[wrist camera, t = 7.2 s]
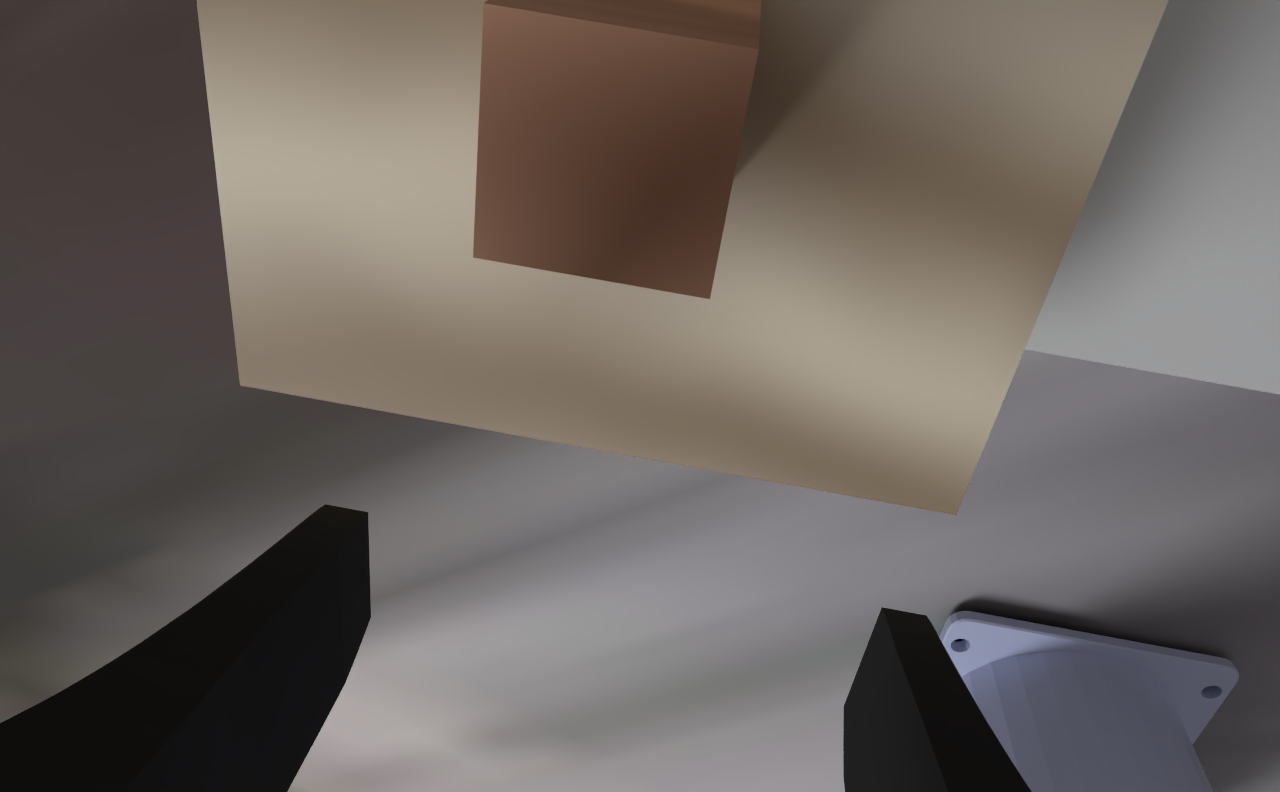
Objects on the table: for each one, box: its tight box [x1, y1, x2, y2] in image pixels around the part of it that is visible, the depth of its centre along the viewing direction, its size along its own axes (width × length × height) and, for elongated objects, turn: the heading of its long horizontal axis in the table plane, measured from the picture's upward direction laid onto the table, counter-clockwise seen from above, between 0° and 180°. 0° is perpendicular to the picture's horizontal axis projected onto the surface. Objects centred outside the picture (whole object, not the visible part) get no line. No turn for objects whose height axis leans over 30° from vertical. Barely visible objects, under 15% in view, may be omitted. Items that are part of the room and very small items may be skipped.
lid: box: [197, 0, 1169, 515], centre depth 13 cm, size 14×14×5 cm
